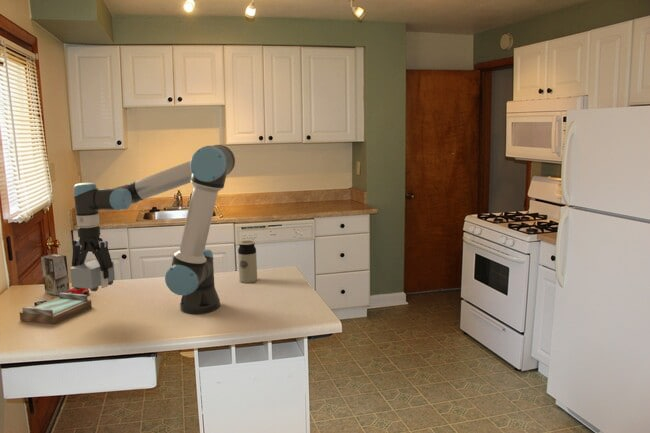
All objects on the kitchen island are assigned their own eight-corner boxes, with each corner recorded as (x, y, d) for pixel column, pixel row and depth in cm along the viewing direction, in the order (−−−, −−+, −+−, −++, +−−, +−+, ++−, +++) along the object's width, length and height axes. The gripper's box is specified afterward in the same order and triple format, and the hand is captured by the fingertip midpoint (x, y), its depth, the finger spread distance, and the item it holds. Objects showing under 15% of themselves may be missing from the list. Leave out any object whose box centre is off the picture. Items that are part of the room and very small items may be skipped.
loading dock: (91, 307, 218) (90, 295, 217) (54, 324, 200) (53, 311, 199) (59, 303, 223) (58, 292, 222) (20, 320, 205) (18, 307, 204)
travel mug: (248, 277, 256) (246, 239, 253) (260, 280, 251) (259, 241, 248) (235, 281, 249) (234, 242, 246) (248, 284, 245) (247, 244, 242)
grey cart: (115, 283, 208) (113, 261, 206) (92, 292, 197) (90, 269, 195) (95, 281, 211) (93, 260, 209) (72, 290, 199) (70, 268, 198)
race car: (67, 304, 224) (66, 294, 223) (57, 302, 226) (56, 293, 225) (91, 294, 236) (90, 285, 235) (81, 293, 238) (80, 284, 237)
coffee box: (70, 291, 239) (67, 255, 236) (56, 295, 234) (52, 258, 231) (58, 288, 244) (54, 253, 241) (44, 292, 238) (40, 256, 236)
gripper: (56, 226, 200) (62, 286, 203) (106, 229, 193) (111, 291, 197) (71, 222, 207) (77, 280, 210) (120, 225, 200) (125, 285, 204)
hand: (94, 285), depth 204 cm, fingers closed on grey cart, 9 cm apart
